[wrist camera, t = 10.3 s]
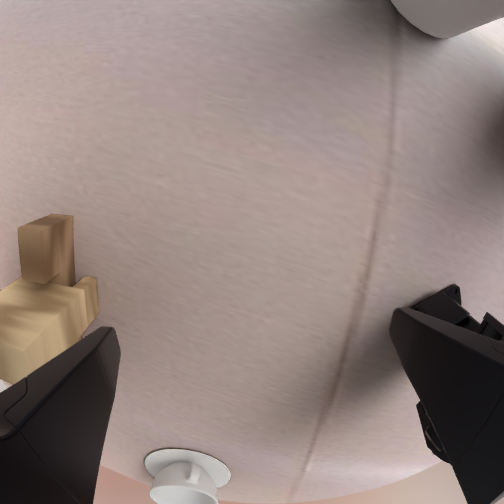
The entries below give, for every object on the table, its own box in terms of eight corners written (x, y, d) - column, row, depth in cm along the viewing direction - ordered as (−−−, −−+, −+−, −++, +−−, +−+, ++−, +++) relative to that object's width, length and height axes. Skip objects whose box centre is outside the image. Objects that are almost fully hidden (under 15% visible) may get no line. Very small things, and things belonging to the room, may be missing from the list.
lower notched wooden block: (51, 213, 20) (17, 227, 15) (73, 216, 20) (39, 231, 16) (65, 348, 23) (43, 377, 19) (84, 353, 23) (63, 383, 19)
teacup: (216, 493, 31) (215, 522, 26) (140, 474, 30) (133, 503, 25) (243, 458, 28) (243, 492, 24) (152, 435, 27) (143, 469, 22)
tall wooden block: (96, 277, 21) (23, 351, 12) (99, 312, 22) (37, 394, 13) (35, 266, 21) (-44, 323, 11) (40, 299, 22) (-30, 364, 12)
